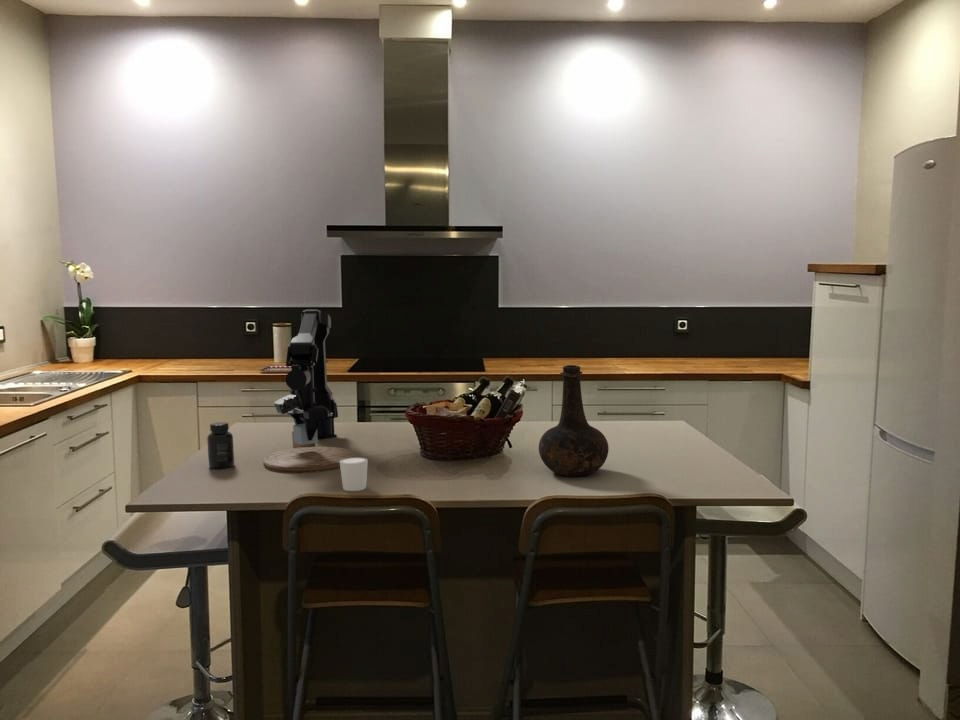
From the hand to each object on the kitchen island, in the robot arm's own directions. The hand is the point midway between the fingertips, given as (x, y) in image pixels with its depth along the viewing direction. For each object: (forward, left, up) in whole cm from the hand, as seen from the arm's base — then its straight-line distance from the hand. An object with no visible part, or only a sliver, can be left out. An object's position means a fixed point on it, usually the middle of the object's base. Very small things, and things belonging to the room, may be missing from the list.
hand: (305, 438), depth 242 cm
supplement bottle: (+23, -5, -6) cm, 24 cm away
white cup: (+6, +39, -6) cm, 40 cm away
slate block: (0, 0, -1) cm, 1 cm away
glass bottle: (-45, +63, -6) cm, 78 cm away
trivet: (+2, +6, -6) cm, 9 cm away
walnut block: (-5, -12, -5) cm, 14 cm away
